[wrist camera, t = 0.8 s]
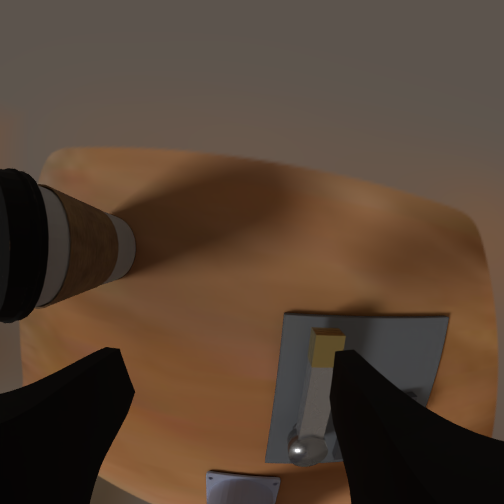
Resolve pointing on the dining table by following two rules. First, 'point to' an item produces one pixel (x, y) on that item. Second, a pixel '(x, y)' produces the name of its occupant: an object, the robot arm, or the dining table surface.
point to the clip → (315, 398)
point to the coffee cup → (54, 246)
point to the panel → (370, 348)
